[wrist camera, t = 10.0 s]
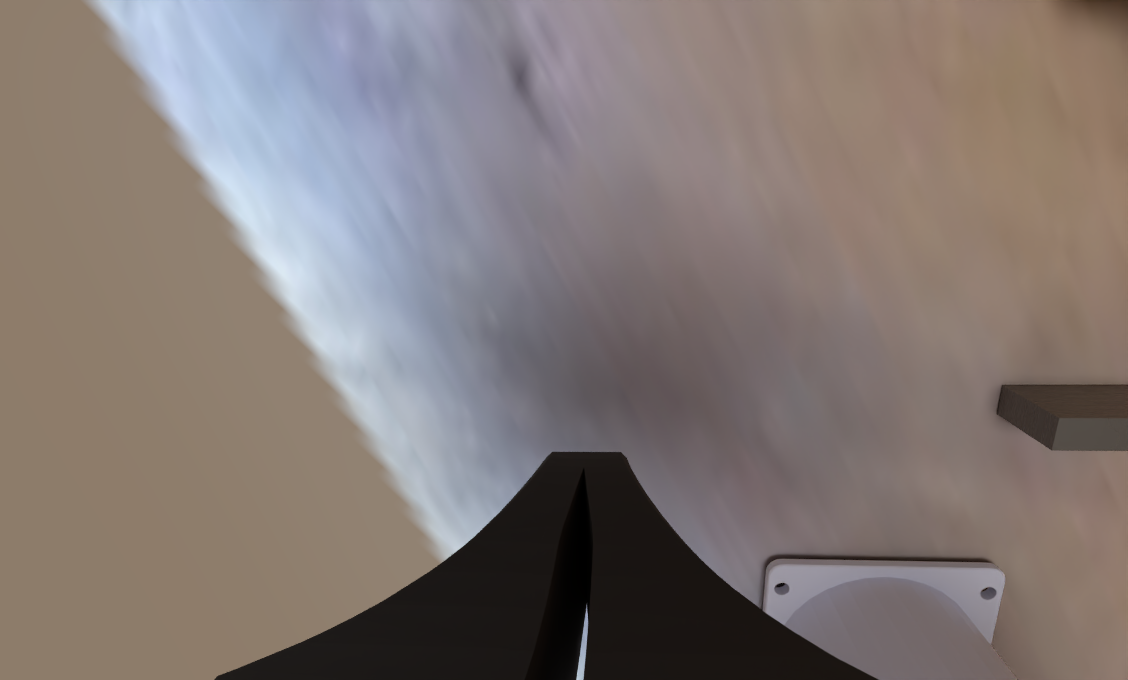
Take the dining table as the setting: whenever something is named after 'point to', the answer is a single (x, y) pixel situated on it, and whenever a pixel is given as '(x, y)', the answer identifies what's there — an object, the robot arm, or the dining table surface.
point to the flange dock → (1069, 415)
